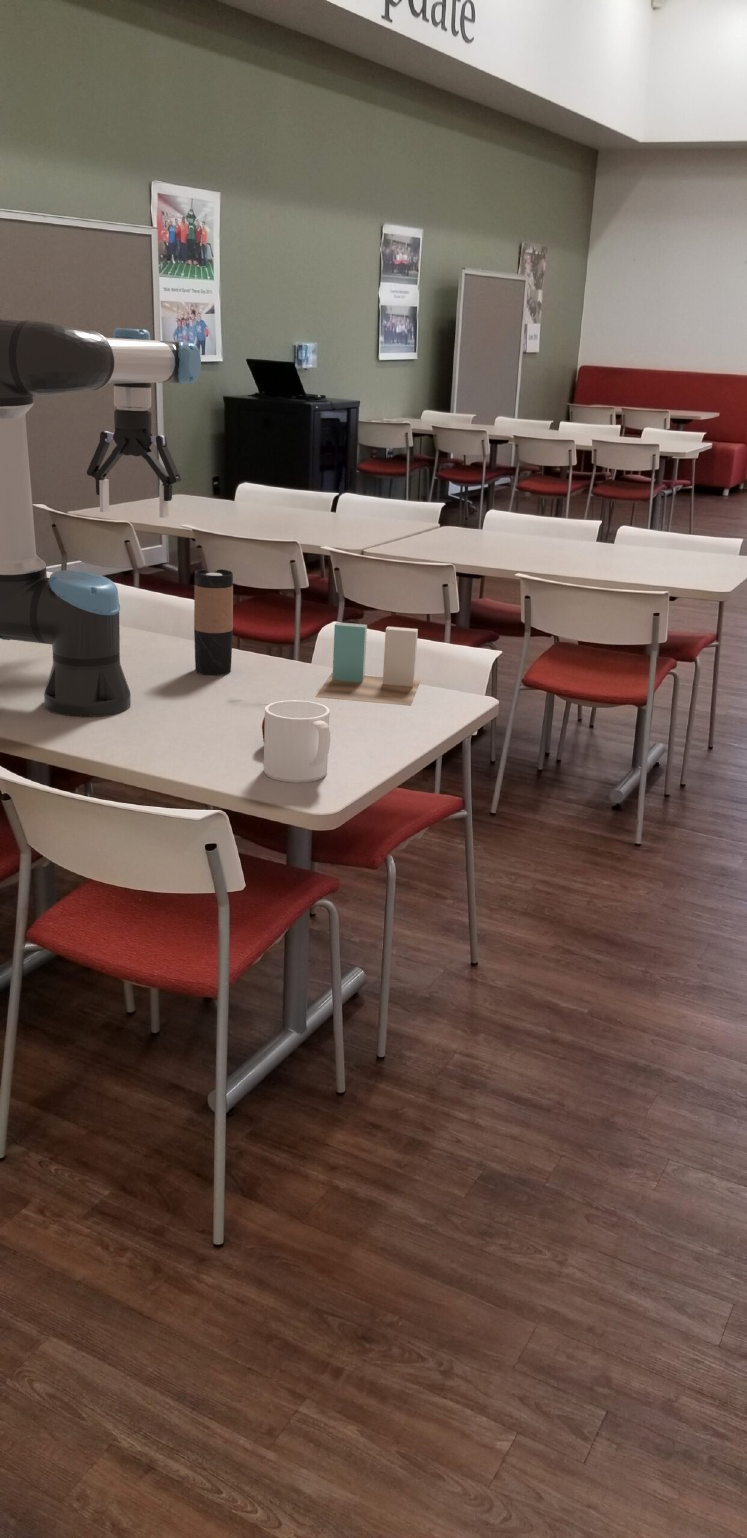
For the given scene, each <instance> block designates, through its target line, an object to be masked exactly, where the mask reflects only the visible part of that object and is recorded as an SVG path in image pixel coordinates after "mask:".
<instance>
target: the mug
mask: <svg viewBox="0 0 747 1538" xmlns="http://www.w3.org/2000/svg"><path fill="white" fill-rule="evenodd" d="M330 711H331V709H330V708H329V707H328V706H326V705H324V704H322V703H319V702H314V701H309V700H298V699H297V700H295V699H294V700H290V699H289V700H288V699H287V700H282V701H281V700H280V701H274V702H271V703H269V704H267V705H266V706H265V708H264V717H265V730H264V742H263V772H264V774H265V775H266V776H267V777H269V778H270V779H273V780H275V781H279V782H284V783H289V784H290V783H293V784H294V783H296V784H298V783H299V784H303V783H312V782H315V781H319V780H322V779H323V778H324V777H326V775H327V774H328V761H329V760H328V758H329V757H328V756H329V752H330V746H331V729H330V713H331V712H330Z"/></svg>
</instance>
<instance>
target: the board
mask: <svg viewBox="0 0 747 1538" xmlns="http://www.w3.org/2000/svg"><path fill="white" fill-rule="evenodd" d="M332 677H333V672H331V673H330V674H329V677H328V678H327V679H326V681H325V682H324V684H322V687H321V688H320V689H319V691H318V692H317V693H316V695H315V698H323V699H335V700H343V701H344V700H345V701H353V702H354V701H357V702H366V703H367V702H368V703H377V704H378V703H379V704H389V705H401V706H402V705H403V706H410V707H411V706H412V703H413V701H414V699H415V697H416V694H417V691H418V689H419V686H420V683H421V679H419V680H418V679H415V681H414V686H413V687H410V686H398V685H387V684H383V676H376V675H375V676H374V675H364V681H363V682H353V681H342V680H332Z"/></svg>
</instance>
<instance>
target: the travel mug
mask: <svg viewBox="0 0 747 1538" xmlns="http://www.w3.org/2000/svg"><path fill="white" fill-rule="evenodd" d="M233 573H234V572H233V571H230V570H227V569H217V570H215V571H208V570H207V569H204V568H202V569H198V570H195V571H194V600H193V601H194V603H193V604H194V607H193V608H194V610H193V611H194V612H193V613H194V614H193V615H194V616H193V617H194V618H193V619H194V620H193V621H194V622H193V633H194V635H193V636H194V637H193V638H194V667H195V672H196V673H198V674H201V675H205V676H222V675H226V674H230V673H231V671H232V658H233V657H232V655H233V654H232V653H233V633H234V632H233V631H234V630H233V629H234V627H233V625H234V615H233V614H234V610H233V609H234V600H233V599H234V575H233Z"/></svg>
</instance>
